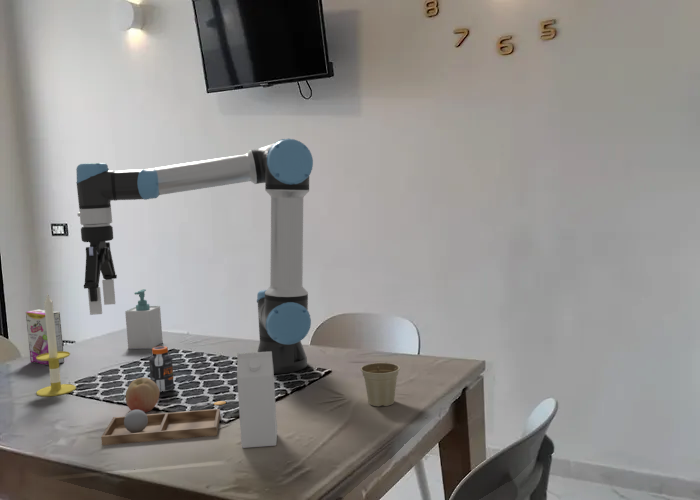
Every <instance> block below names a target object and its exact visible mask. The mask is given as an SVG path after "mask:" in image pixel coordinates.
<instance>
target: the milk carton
mask: <svg viewBox="0 0 700 500" xmlns="http://www.w3.org/2000/svg"><path fill="white" fill-rule="evenodd" d="M236 356H237V357H236V359H237V361H236V362H237V363H236V364H237V365H236V366H237V369H236V381H237V393H238V394H237V395H238V397H237V398H238V408H239V409H238V411H239V427H240V428H239V429H240V431H239V432H240V444H241V448H242V449H244V448H245V449H247V448H258V447H259V448H260V447H272V446H273V447H274V446H277V439H278V438H277V436H278V428H277V427H278V426H277V410H276V409H277V408H276V406H277V405H276V395H275V394H276V392H275V390H276V389H275V375H274V371H273V360H272V351H270V352H257V351H255V352H244V353H241V352H240V353H239V352H238V353H237V355H236Z"/></svg>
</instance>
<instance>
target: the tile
mask: <svg viewBox="0 0 700 500" xmlns="http://www.w3.org/2000/svg"><path fill="white" fill-rule="evenodd" d="M225 404H227V402H226V401H224V400H220V401H219V400H218V401H216V402H213V405H215V406H222V405H225ZM207 405H209V403H207V402H199V403H198V402H197V403H196V404H195V405H194V406H195V407H206V406H207Z"/></svg>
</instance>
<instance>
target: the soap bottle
mask: <svg viewBox="0 0 700 500" xmlns="http://www.w3.org/2000/svg"><path fill="white" fill-rule="evenodd" d="M146 291H147V289H140V290H139V291H135V292H133V293H134V295H138V297H139V300H137V304H136V305H135V307H133V308H129V309H127V310H125V312H124V314H125V325H126V337H127V340H126V341H127V348H128V350H129V349H130V350H135V349H137V350H139V349H140V350H143V349H144V350H147V349H149V350H152V348H154V347H158V346H160V345H161V344H162V343H163V330H162V329H163V328H162V318H161V317H162V316H161V315H162V314H161V306H160V305H150V304H149V303H148V300H147V299H145V295H146V294H145V292H146Z"/></svg>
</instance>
